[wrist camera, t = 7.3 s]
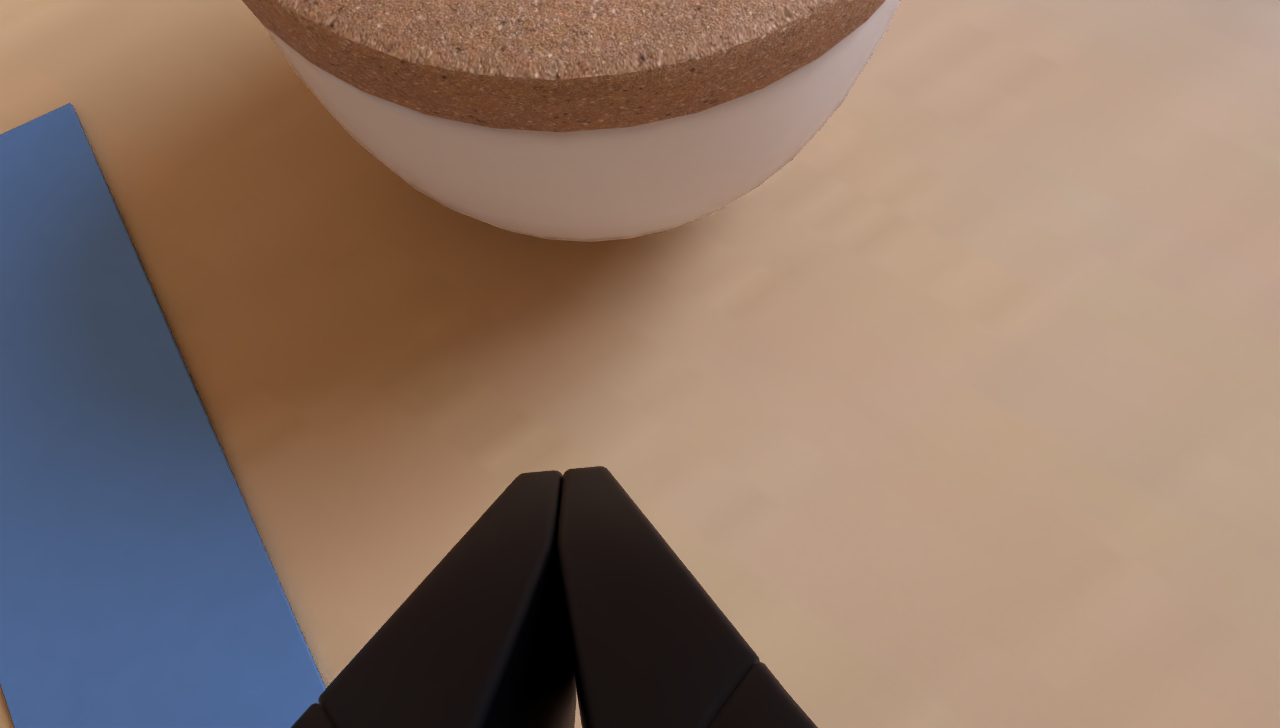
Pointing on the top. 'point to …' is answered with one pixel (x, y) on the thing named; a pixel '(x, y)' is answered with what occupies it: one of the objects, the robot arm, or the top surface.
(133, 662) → the tape strip
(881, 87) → the top surface
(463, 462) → the top surface
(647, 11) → the trinket box
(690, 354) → the top surface
